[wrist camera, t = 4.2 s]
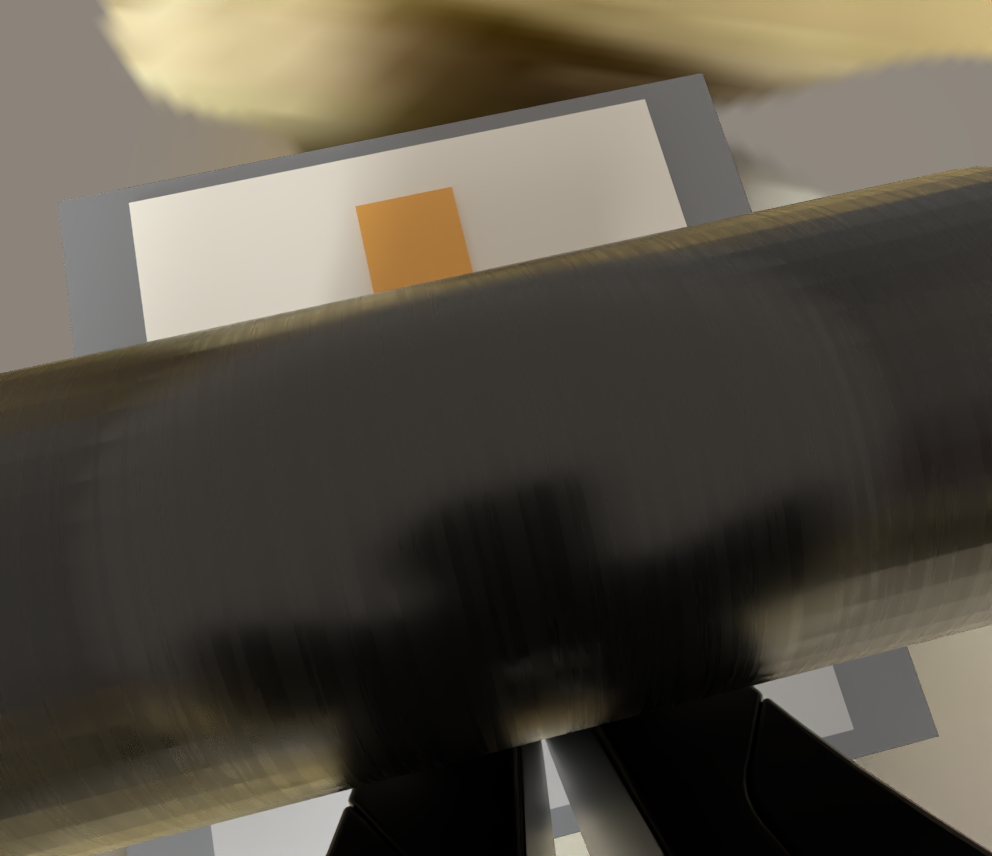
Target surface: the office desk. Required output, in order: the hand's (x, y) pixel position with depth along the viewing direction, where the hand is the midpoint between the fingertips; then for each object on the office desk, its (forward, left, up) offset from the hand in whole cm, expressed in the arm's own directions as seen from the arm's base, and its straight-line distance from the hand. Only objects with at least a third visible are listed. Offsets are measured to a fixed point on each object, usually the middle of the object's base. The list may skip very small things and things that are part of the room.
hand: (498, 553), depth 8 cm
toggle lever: (+2, +1, -5) cm, 5 cm away
